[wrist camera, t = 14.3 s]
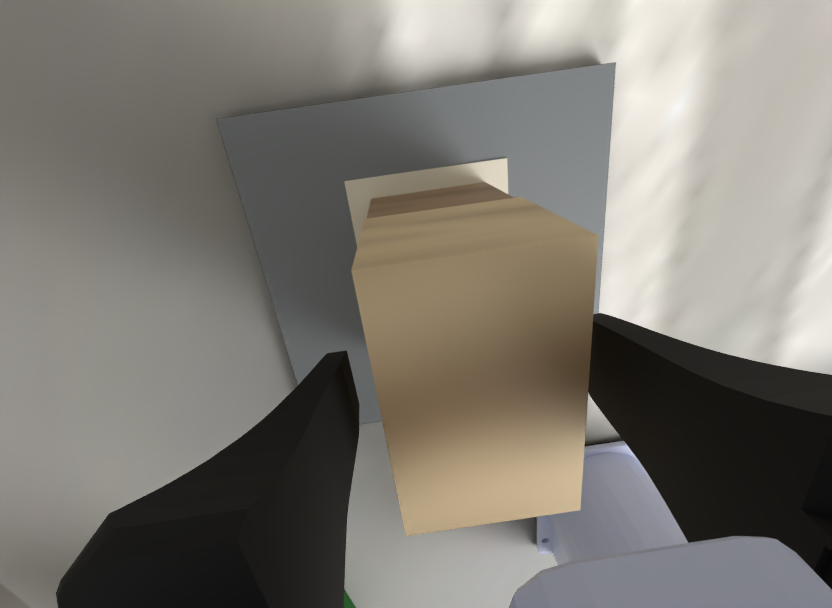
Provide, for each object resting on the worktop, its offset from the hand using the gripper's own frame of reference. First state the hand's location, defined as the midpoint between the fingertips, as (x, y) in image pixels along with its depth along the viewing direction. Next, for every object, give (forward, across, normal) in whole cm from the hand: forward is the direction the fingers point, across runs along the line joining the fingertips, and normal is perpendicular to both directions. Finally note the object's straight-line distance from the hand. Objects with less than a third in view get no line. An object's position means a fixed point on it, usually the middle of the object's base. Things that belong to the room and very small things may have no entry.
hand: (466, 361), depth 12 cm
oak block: (+2, 0, 0) cm, 2 cm away
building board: (+8, 0, 0) cm, 8 cm away
